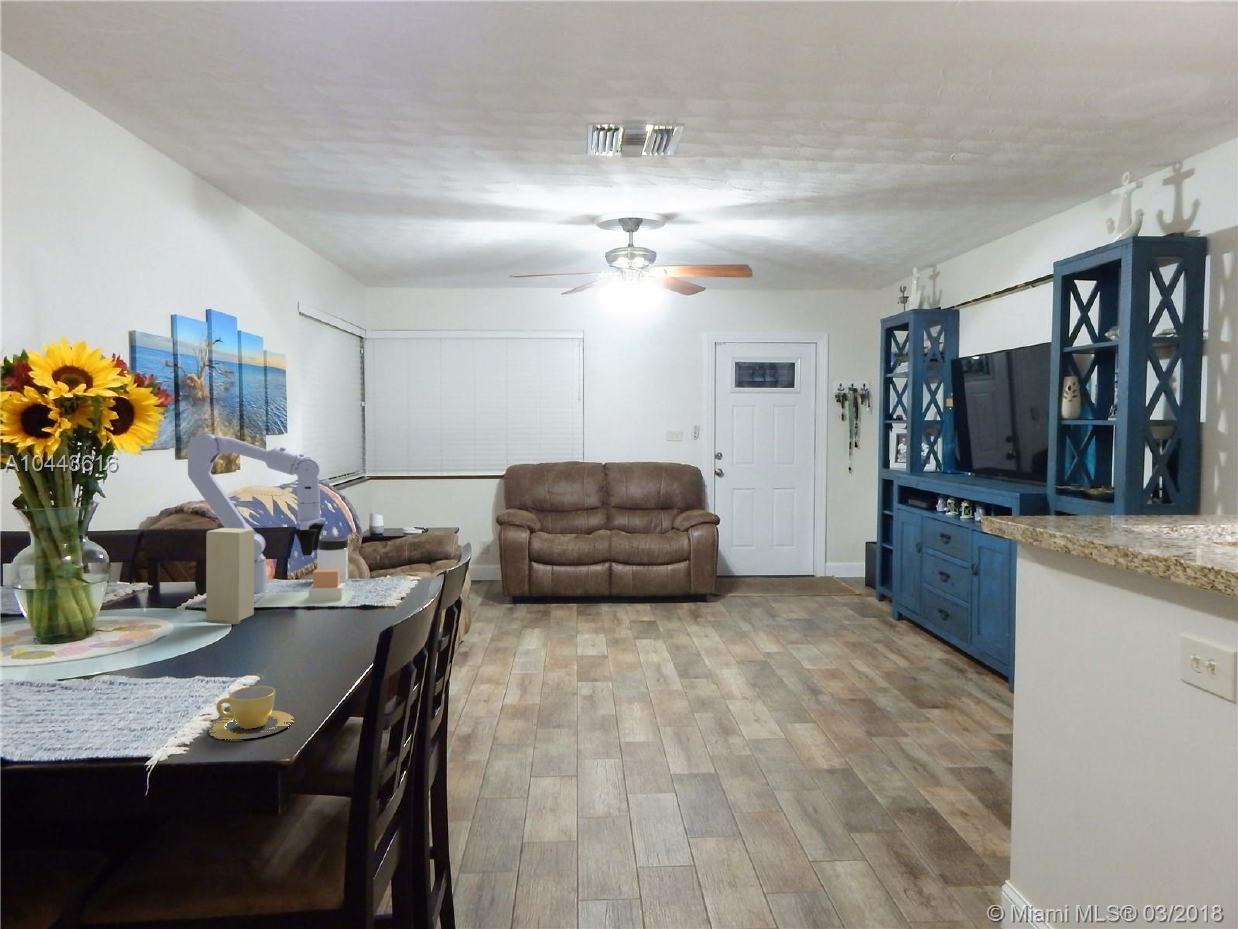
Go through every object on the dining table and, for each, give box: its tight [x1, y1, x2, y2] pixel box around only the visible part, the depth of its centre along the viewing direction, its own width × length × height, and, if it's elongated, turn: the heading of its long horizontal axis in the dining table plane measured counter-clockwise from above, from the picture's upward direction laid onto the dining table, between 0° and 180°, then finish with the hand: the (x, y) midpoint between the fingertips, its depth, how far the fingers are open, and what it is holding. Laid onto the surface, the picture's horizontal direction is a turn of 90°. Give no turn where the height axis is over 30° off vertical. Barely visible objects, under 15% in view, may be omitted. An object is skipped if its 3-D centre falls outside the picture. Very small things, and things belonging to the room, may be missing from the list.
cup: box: [209, 685, 295, 741], centre depth 123 cm, size 12×12×5 cm
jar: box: [316, 536, 349, 583], centre depth 231 cm, size 9×8×12 cm
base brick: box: [308, 582, 346, 600], centre depth 206 cm, size 8×6×3 cm
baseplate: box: [254, 590, 356, 608], centre depth 204 cm, size 22×16×1 cm
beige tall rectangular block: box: [205, 527, 255, 625], centre depth 184 cm, size 8×7×21 cm
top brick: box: [312, 568, 341, 588], centre depth 205 cm, size 6×4×4 cm, turn 100°
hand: (310, 552), depth 216 cm, fingers open, 7 cm apart
